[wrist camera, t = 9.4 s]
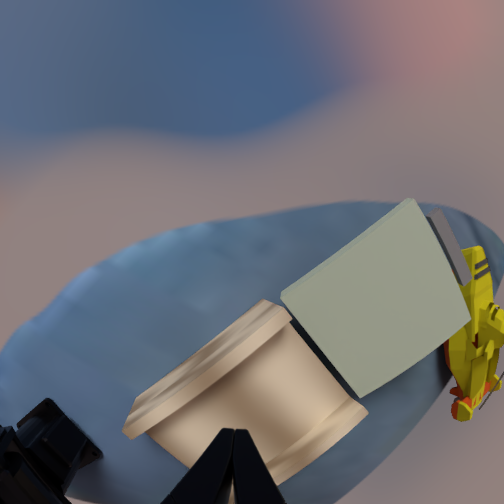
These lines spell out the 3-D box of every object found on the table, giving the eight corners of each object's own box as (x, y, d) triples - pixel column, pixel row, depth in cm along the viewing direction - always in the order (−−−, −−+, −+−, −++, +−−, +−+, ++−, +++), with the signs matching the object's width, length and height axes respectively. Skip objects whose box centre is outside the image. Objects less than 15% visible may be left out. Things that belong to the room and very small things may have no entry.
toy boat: (431, 413, 23) (494, 443, 13) (422, 258, 23) (509, 250, 13) (465, 387, 24) (524, 406, 14) (457, 243, 24) (532, 234, 14)
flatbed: (230, 477, 18) (239, 514, 13) (136, 397, 17) (121, 431, 12) (341, 394, 20) (373, 418, 15) (262, 298, 20) (283, 307, 15)
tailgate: (360, 398, 17) (487, 303, 15) (280, 298, 17) (433, 182, 14) (356, 382, 19) (474, 294, 16) (281, 287, 19) (420, 182, 16)
